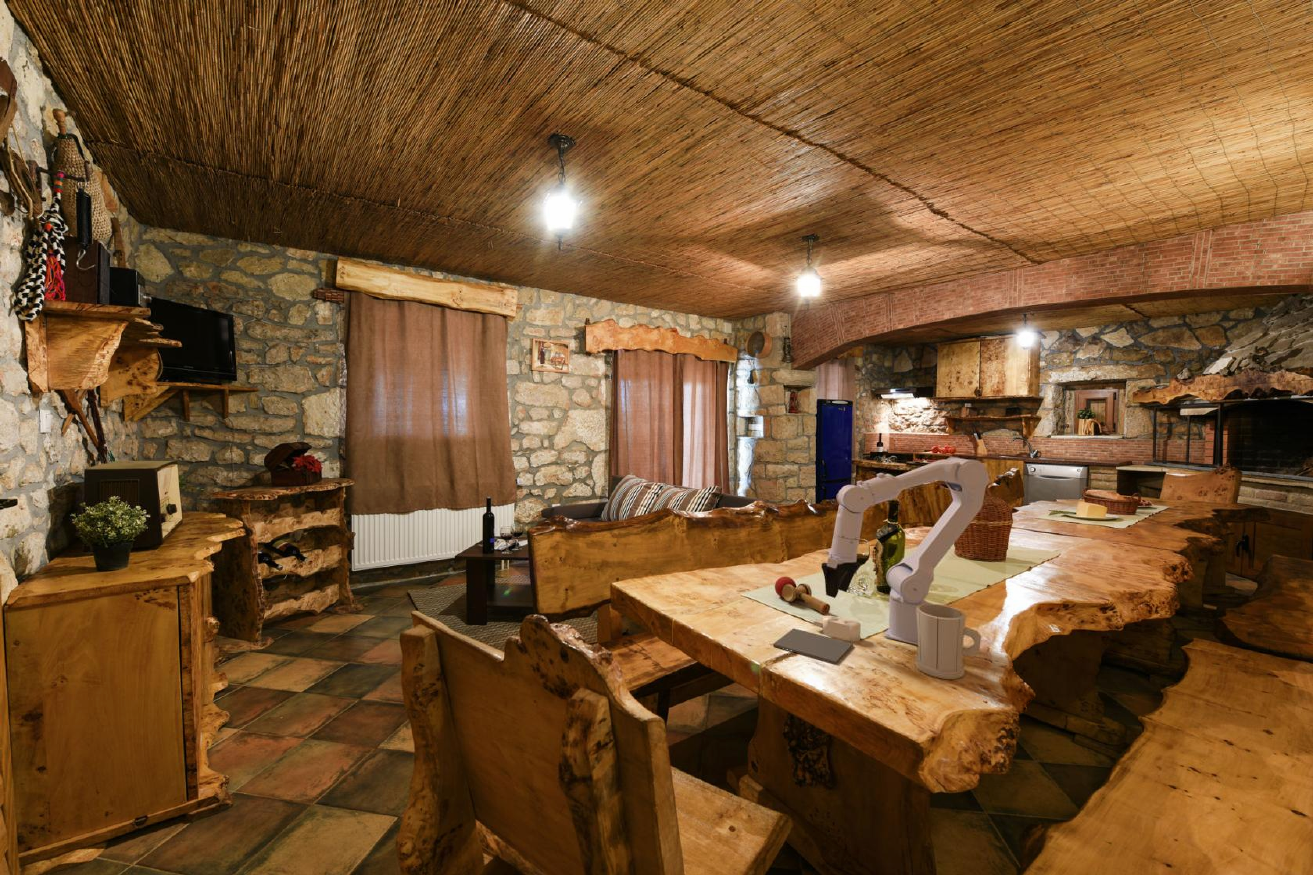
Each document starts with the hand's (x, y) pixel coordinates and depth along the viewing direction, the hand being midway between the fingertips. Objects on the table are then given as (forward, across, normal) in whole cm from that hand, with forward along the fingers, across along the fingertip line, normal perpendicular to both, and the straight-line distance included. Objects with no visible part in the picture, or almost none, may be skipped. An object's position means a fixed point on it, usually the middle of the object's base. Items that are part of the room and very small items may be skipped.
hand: (836, 593), depth 125 cm
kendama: (+11, -15, -13) cm, 23 cm away
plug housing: (+10, -1, +2) cm, 10 cm away
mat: (+11, +9, 0) cm, 14 cm away
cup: (+7, +3, +24) cm, 26 cm away
